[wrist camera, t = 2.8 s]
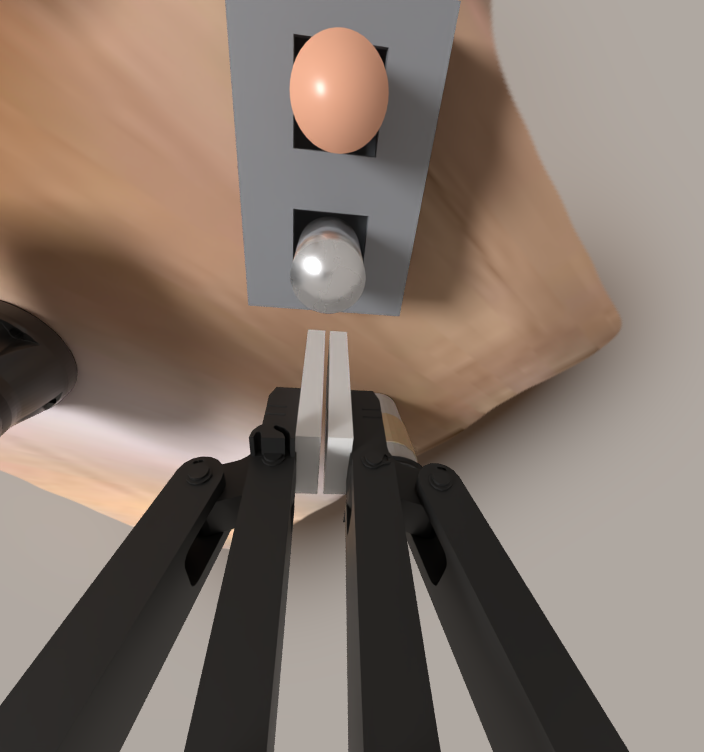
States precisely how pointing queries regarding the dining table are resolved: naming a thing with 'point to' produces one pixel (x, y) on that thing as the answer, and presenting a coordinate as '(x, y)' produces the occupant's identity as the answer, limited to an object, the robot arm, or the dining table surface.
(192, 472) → the robot arm
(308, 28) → the block with square holes
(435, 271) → the dining table surface
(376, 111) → the brown egg
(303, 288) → the silver rounded piece
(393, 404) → the coffee cup
